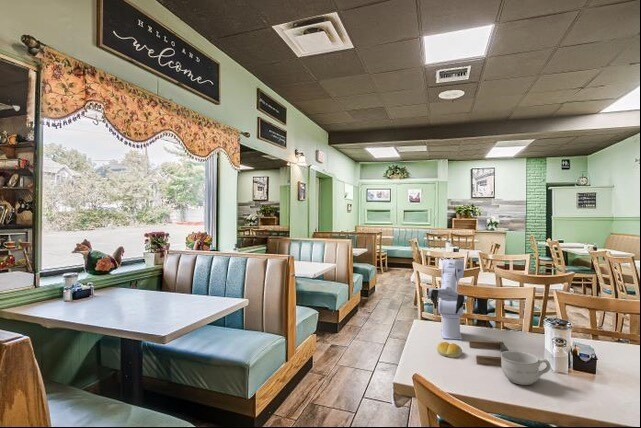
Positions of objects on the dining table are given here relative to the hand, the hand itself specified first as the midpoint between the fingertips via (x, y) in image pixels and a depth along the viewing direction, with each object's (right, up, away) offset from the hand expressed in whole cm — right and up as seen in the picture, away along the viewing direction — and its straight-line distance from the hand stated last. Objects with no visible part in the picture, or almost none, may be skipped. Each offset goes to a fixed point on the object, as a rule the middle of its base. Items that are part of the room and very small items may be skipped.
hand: (446, 309), depth 128 cm
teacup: (+18, -18, -20) cm, 32 cm away
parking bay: (+16, -17, 0) cm, 24 cm away
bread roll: (+2, -18, +3) cm, 19 cm away
